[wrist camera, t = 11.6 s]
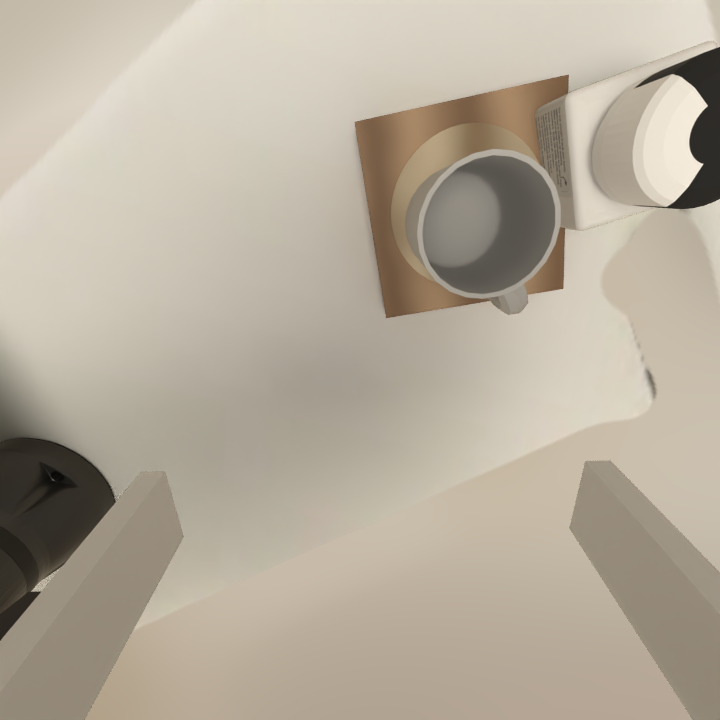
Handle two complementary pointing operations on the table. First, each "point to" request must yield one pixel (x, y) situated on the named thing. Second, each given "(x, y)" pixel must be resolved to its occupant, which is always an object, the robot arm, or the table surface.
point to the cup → (485, 226)
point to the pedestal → (431, 154)
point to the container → (636, 140)
